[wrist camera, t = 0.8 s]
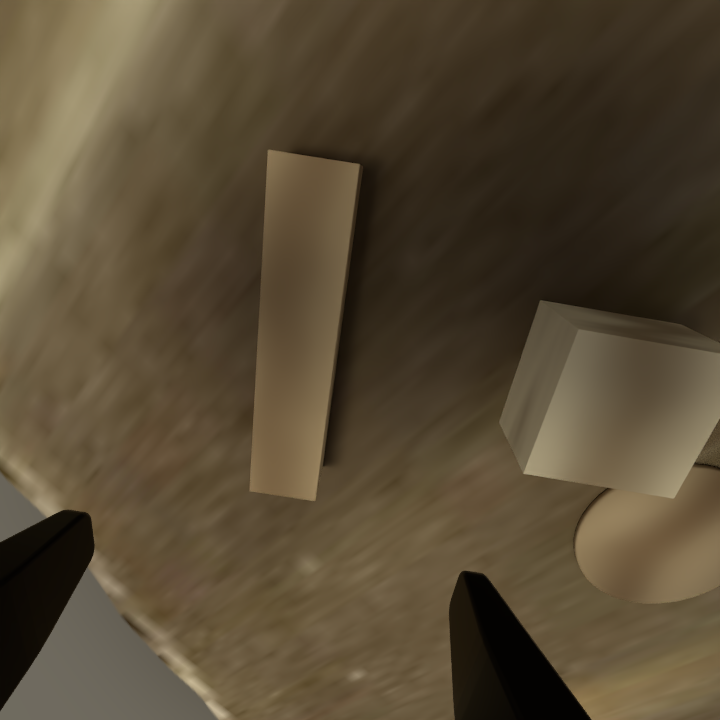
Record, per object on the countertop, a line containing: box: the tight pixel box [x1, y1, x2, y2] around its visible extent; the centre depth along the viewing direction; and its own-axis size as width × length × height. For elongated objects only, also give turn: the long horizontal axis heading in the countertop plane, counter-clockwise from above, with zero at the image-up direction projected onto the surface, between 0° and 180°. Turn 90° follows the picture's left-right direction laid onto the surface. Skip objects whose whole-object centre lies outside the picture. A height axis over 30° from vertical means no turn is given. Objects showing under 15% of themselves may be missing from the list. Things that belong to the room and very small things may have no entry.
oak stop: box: [250, 150, 363, 501], centre depth 18 cm, size 3×14×2 cm, turn 172°
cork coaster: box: [574, 464, 720, 603], centre depth 22 cm, size 9×9×1 cm
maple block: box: [499, 300, 720, 499], centre depth 17 cm, size 6×6×4 cm
